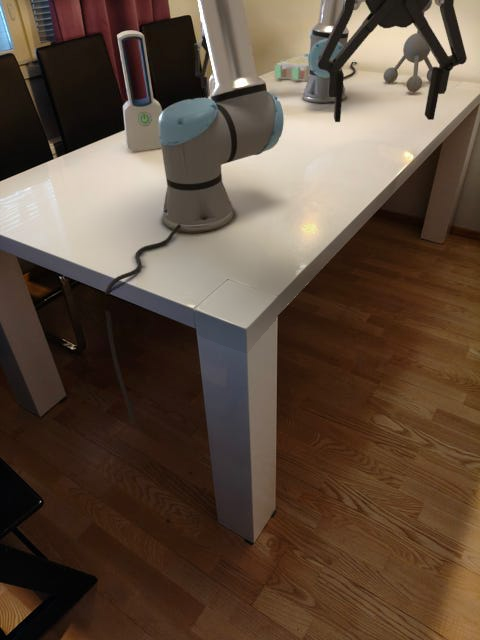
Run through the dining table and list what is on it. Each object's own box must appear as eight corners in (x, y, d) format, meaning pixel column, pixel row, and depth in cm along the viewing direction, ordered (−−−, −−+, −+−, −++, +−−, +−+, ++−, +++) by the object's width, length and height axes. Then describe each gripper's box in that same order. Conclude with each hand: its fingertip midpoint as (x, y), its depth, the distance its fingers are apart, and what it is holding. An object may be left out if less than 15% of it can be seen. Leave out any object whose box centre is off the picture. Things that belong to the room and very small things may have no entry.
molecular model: (460, 87, 184) (480, -8, 165) (411, 95, 178) (426, -3, 159) (420, 76, 201) (434, -12, 183) (374, 83, 195) (384, -7, 177)
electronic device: (128, 152, 143) (106, 36, 125) (126, 144, 149) (105, 32, 131) (170, 146, 146) (154, 31, 127) (166, 139, 151) (151, 28, 133)
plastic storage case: (297, 52, 222) (336, 55, 212) (296, 67, 226) (335, 71, 216) (266, 63, 206) (307, 66, 196) (266, 79, 210) (307, 83, 200)
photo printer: (222, 113, 172) (220, 74, 165) (210, 113, 173) (207, 75, 165) (225, 105, 180) (223, 68, 173) (214, 105, 181) (211, 68, 173)
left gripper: (499, -66, 62) (461, 109, 75) (303, -54, 65) (299, 113, 78) (521, -66, 56) (475, 123, 69) (304, -54, 59) (299, 127, 72)
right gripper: (242, 19, 162) (245, 93, 176) (184, 22, 164) (191, 95, 178) (241, 22, 156) (244, 99, 170) (180, 25, 158) (188, 100, 172)
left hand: (382, 118), depth 74 cm, fingers open, 13 cm apart
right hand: (217, 97), depth 174 cm, fingers open, 7 cm apart
